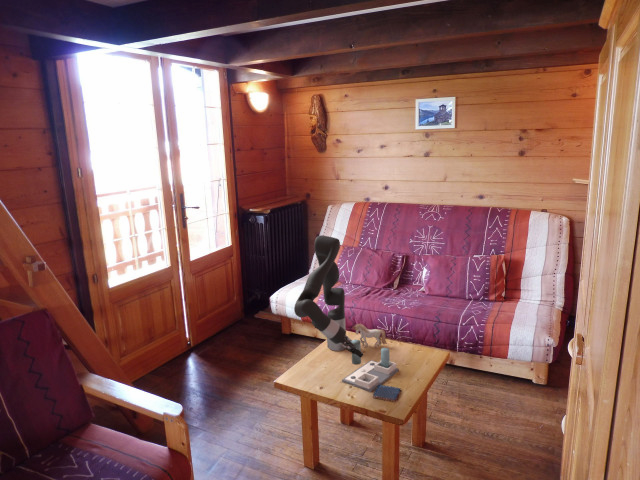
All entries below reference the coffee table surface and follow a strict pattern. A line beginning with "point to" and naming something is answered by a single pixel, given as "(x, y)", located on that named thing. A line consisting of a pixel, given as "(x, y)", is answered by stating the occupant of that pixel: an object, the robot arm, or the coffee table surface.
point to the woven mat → (387, 393)
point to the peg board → (372, 373)
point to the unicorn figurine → (370, 335)
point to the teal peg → (355, 358)
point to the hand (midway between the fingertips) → (360, 353)
